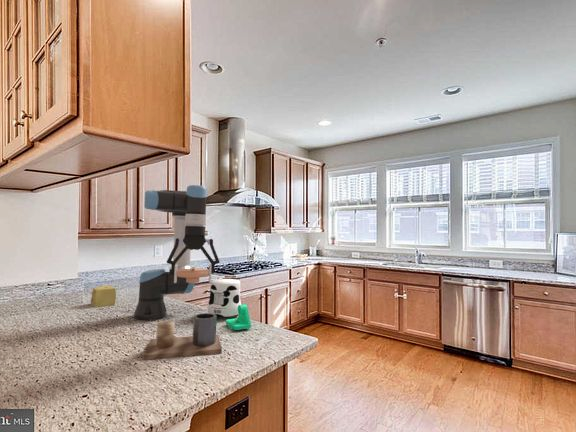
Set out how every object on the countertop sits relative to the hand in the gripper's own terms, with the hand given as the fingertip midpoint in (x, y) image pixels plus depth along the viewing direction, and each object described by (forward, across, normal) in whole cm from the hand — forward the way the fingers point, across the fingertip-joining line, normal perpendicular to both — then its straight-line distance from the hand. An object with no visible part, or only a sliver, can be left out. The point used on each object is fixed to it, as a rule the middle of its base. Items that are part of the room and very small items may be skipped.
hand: (192, 282), depth 119 cm
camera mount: (+25, +20, +22) cm, 39 cm away
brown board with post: (+25, -2, 0) cm, 25 cm away
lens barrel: (+23, +5, +1) cm, 24 cm away
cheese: (+24, -51, +76) cm, 95 cm away
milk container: (+25, +15, +43) cm, 52 cm away
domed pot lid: (0, 0, 0) cm, 0 cm away
